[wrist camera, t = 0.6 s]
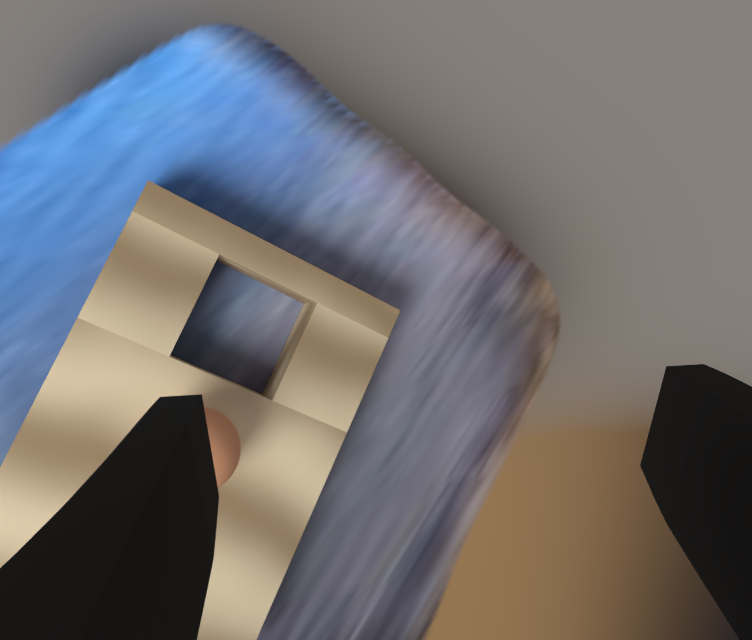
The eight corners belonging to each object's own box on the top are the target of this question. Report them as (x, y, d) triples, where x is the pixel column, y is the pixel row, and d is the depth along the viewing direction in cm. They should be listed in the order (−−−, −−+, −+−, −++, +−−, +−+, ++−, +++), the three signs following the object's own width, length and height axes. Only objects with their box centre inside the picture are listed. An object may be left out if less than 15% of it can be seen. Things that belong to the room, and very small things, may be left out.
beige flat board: (236, 640, 31) (244, 667, 29) (-44, 561, 27) (-61, 585, 25) (382, 310, 34) (400, 310, 32) (147, 190, 30) (148, 180, 27)
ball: (212, 493, 28) (223, 518, 25) (134, 465, 27) (134, 487, 24) (247, 418, 29) (262, 433, 26) (172, 388, 28) (177, 399, 24)
